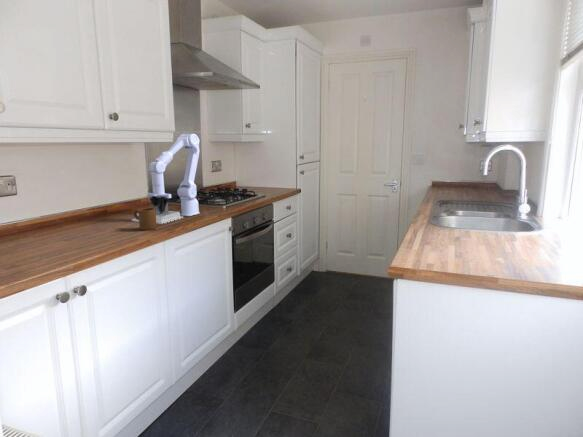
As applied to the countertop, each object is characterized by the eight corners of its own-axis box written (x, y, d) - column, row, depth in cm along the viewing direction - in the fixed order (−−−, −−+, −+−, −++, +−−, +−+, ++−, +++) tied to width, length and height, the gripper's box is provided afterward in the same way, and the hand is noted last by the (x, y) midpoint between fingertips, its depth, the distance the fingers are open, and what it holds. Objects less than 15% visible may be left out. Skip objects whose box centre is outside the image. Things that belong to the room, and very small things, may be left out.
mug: (129, 229, 193) (127, 209, 191) (141, 226, 200) (139, 207, 198) (148, 231, 188) (147, 211, 186) (160, 228, 195) (158, 208, 193)
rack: (154, 215, 227) (153, 209, 226) (183, 218, 218) (182, 211, 218) (131, 221, 213) (131, 214, 212) (161, 224, 204) (161, 217, 204)
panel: (165, 216, 219) (164, 203, 218) (168, 216, 218) (167, 203, 217) (153, 219, 211) (152, 205, 210) (156, 219, 210) (155, 206, 209)
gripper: (141, 185, 211) (143, 211, 213) (163, 186, 205) (165, 213, 207) (151, 184, 217) (153, 209, 219) (173, 185, 211) (175, 211, 213)
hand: (160, 211), depth 214 cm, fingers open, 3 cm apart
